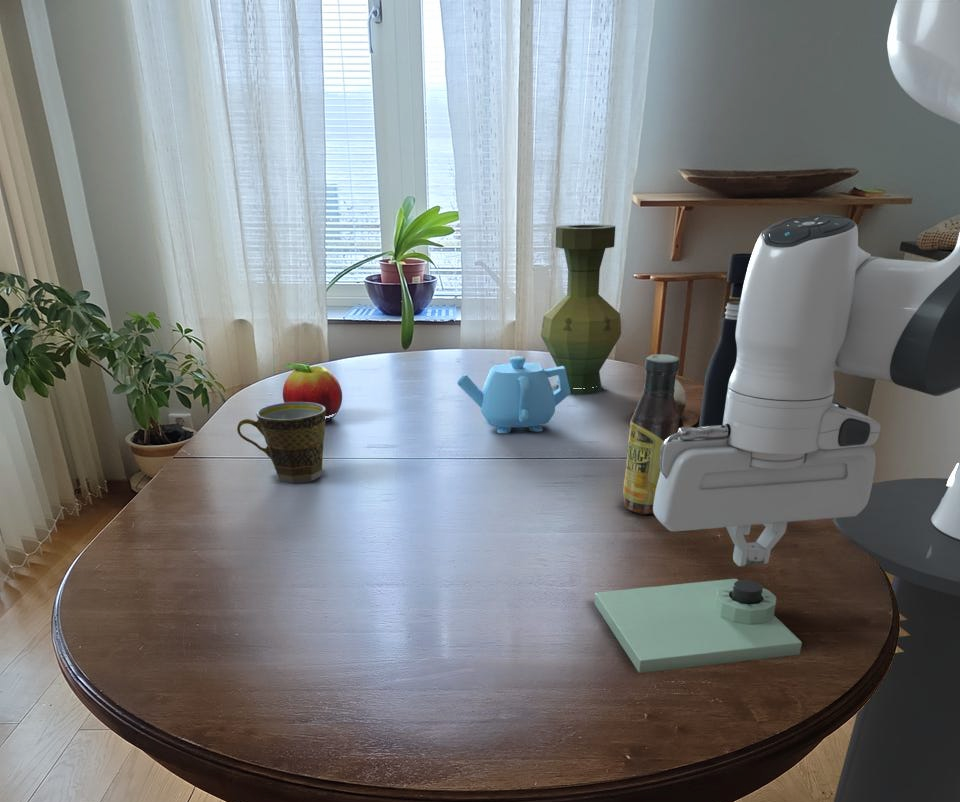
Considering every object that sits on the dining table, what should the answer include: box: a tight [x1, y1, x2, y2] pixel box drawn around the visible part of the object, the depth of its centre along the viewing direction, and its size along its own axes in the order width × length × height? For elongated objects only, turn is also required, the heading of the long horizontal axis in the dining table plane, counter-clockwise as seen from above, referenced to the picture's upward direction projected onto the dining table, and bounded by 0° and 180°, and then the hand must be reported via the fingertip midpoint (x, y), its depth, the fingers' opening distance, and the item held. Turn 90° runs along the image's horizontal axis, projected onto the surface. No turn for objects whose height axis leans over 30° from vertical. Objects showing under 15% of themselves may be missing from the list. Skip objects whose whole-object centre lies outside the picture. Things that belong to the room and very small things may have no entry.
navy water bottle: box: [698, 252, 752, 428], centre depth 112 cm, size 6×6×30 cm
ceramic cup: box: [236, 402, 326, 484], centre depth 121 cm, size 13×10×10 cm
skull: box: [629, 378, 699, 430], centre depth 146 cm, size 12×10×10 cm
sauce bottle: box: [622, 353, 680, 515], centre depth 105 cm, size 6×6×20 cm
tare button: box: [732, 579, 764, 605], centre depth 81 cm, size 3×3×2 cm
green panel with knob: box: [593, 578, 803, 674], centre depth 81 cm, size 16×14×3 cm
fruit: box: [282, 362, 343, 423], centre depth 149 cm, size 11×11×10 cm
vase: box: [540, 223, 622, 395], centre depth 161 cm, size 16×16×30 cm
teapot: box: [456, 356, 571, 434], centre depth 143 cm, size 20×17×12 cm
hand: (750, 563), depth 80 cm, fingers closed
